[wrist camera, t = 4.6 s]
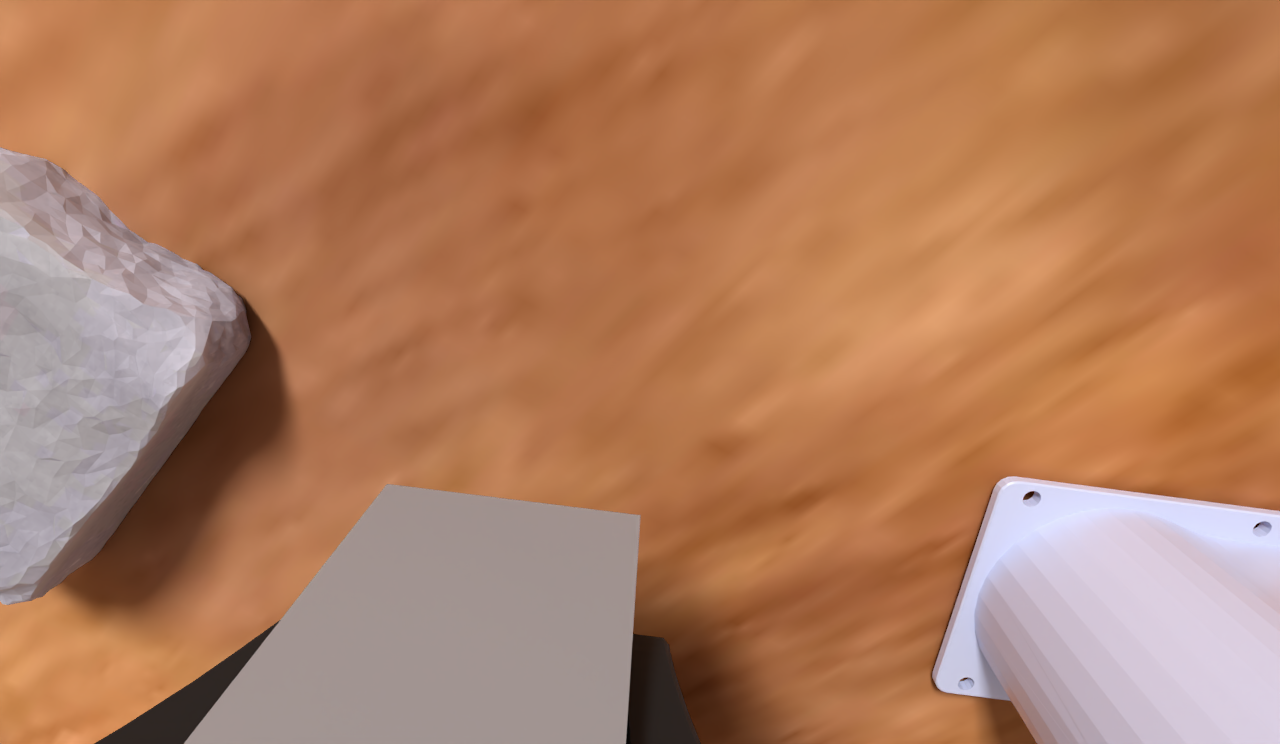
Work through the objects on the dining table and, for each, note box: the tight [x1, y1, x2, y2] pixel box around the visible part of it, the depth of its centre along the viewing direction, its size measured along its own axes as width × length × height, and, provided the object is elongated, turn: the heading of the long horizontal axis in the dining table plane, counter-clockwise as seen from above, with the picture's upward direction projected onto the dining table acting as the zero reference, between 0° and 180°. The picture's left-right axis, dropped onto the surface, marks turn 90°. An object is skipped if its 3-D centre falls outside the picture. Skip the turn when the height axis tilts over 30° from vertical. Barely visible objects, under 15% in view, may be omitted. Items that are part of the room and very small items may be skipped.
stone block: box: [0, 147, 251, 605], centre depth 20 cm, size 12×5×10 cm
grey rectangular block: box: [184, 484, 640, 744], centre depth 10 cm, size 4×4×6 cm
